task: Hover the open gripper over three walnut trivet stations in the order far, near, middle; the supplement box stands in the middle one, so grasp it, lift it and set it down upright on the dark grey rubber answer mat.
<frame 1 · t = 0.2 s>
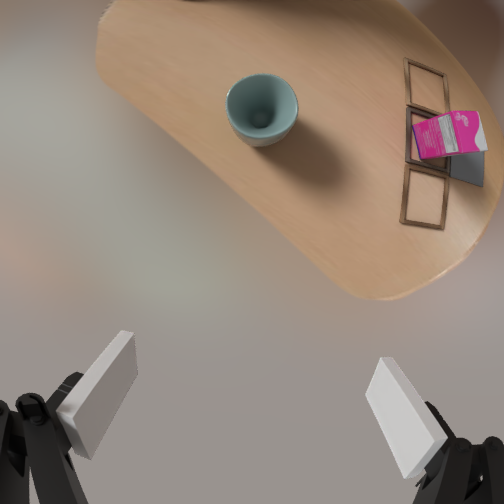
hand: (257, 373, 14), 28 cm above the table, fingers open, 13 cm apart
answer mat: (467, 157, 36), on the table
supplement box: (427, 140, 37), resting in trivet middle
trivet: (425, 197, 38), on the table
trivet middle: (428, 140, 36), on the table
cup: (260, 124, 37), on the table
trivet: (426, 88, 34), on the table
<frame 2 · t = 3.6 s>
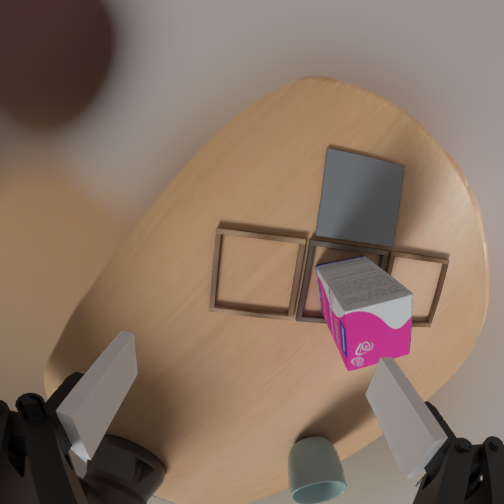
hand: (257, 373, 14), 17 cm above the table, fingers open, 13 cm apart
answer mat: (361, 198, 28), on the table
supplement box: (341, 284, 30), resting in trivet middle
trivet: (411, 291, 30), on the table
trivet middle: (342, 284, 30), on the table
cup: (309, 443, 36), on the table
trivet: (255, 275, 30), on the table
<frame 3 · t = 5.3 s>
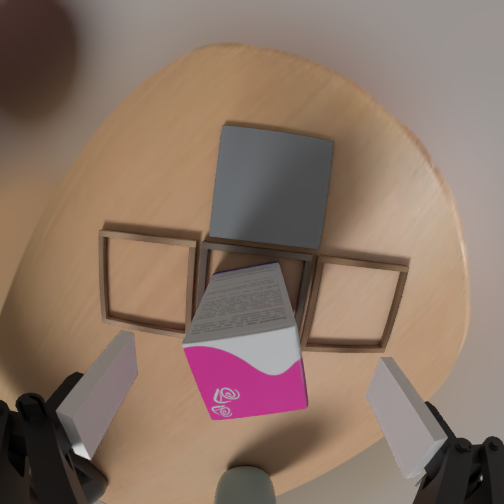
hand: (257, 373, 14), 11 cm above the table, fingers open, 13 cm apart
answer mat: (271, 186, 22), on the table
supplement box: (251, 297, 25), resting in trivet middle
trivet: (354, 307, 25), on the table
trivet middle: (251, 298, 24), on the table
cup: (245, 472, 30), on the table
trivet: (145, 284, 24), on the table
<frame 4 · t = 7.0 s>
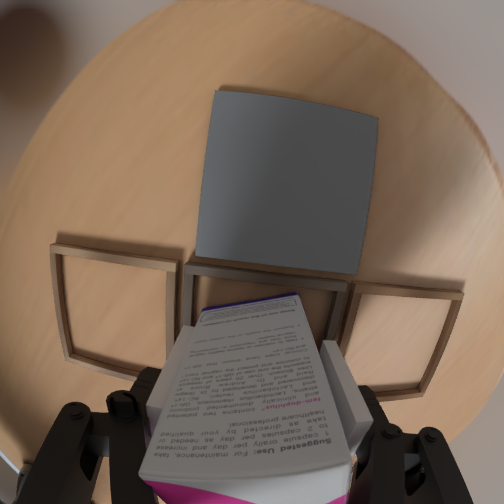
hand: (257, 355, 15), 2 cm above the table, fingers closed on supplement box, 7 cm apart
answer mat: (289, 181, 15), on the table
supplement box: (257, 340, 17), resting in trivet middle, touching gripper
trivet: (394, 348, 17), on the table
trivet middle: (257, 341, 17), on the table
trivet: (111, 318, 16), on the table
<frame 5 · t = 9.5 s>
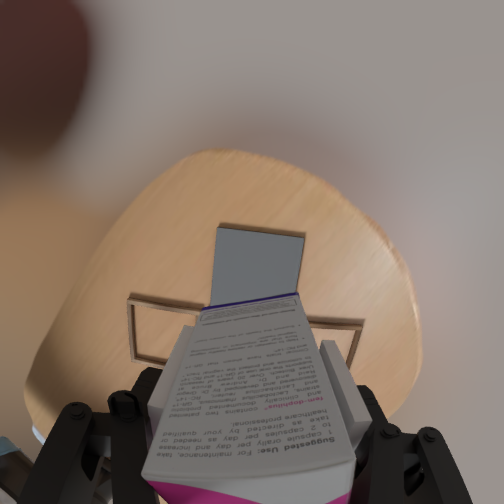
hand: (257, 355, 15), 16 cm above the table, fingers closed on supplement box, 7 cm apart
answer mat: (255, 273, 30), on the table
supplement box: (256, 339, 17), point 14 cm above the table, touching gripper
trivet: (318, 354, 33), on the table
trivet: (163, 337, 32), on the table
when the fingers open (3 cm above the table, at t = 12.3 s): supplement box drops 1 cm, resting on answer mat.
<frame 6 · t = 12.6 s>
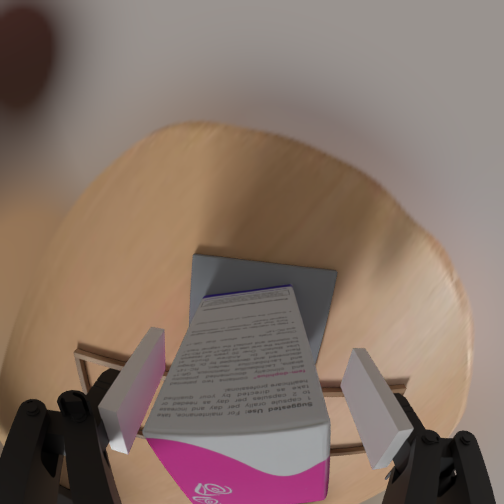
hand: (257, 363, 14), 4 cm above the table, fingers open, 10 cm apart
answer mat: (257, 326, 19), on the table
supplement box: (252, 328, 18), resting on answer mat
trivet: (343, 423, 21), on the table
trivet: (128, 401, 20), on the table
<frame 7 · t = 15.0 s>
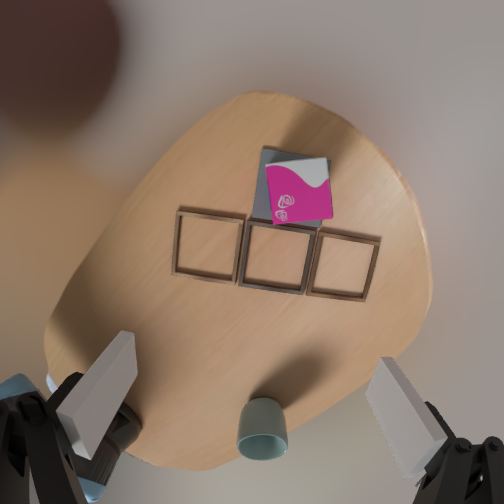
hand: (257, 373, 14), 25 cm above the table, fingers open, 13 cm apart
answer mat: (291, 188, 36), on the table
supplement box: (289, 187, 36), resting on answer mat
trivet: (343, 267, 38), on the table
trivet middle: (276, 258, 38), on the table
cup: (262, 405, 45), on the table
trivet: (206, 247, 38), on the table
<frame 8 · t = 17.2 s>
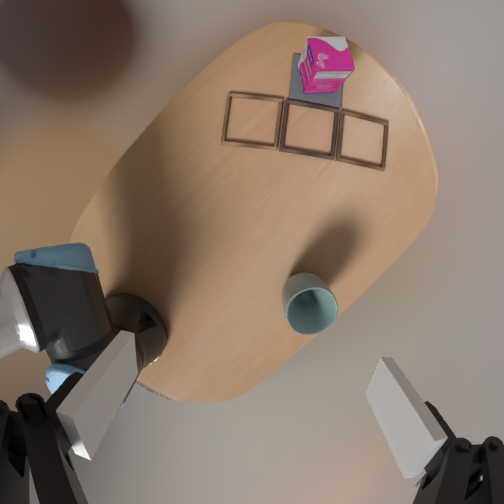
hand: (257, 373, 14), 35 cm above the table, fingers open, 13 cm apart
answer mat: (316, 80, 41), on the table
supplement box: (315, 79, 41), resting on answer mat
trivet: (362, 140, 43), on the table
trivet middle: (309, 129, 43), on the table
cup: (301, 287, 49), on the table
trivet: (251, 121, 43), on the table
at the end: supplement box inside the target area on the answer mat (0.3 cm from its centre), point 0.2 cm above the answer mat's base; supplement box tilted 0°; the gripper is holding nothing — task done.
